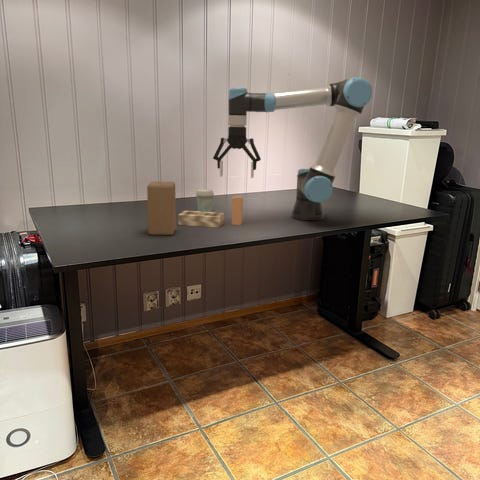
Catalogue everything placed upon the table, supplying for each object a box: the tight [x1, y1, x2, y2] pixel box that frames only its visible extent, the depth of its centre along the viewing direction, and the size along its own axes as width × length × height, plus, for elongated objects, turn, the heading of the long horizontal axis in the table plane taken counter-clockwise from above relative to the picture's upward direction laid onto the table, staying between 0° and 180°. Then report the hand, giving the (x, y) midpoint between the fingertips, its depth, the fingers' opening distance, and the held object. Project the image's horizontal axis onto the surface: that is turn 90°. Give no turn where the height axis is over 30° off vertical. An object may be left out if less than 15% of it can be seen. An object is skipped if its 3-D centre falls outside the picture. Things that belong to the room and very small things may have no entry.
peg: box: [231, 195, 244, 226], centre depth 205 cm, size 4×4×12 cm
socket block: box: [178, 210, 225, 229], centre depth 204 cm, size 18×9×4 cm, turn 80°
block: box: [146, 180, 177, 236], centre depth 187 cm, size 10×10×20 cm
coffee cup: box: [195, 188, 215, 212], centre depth 220 cm, size 8×8×12 cm
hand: (236, 176), depth 202 cm, fingers open, 13 cm apart
